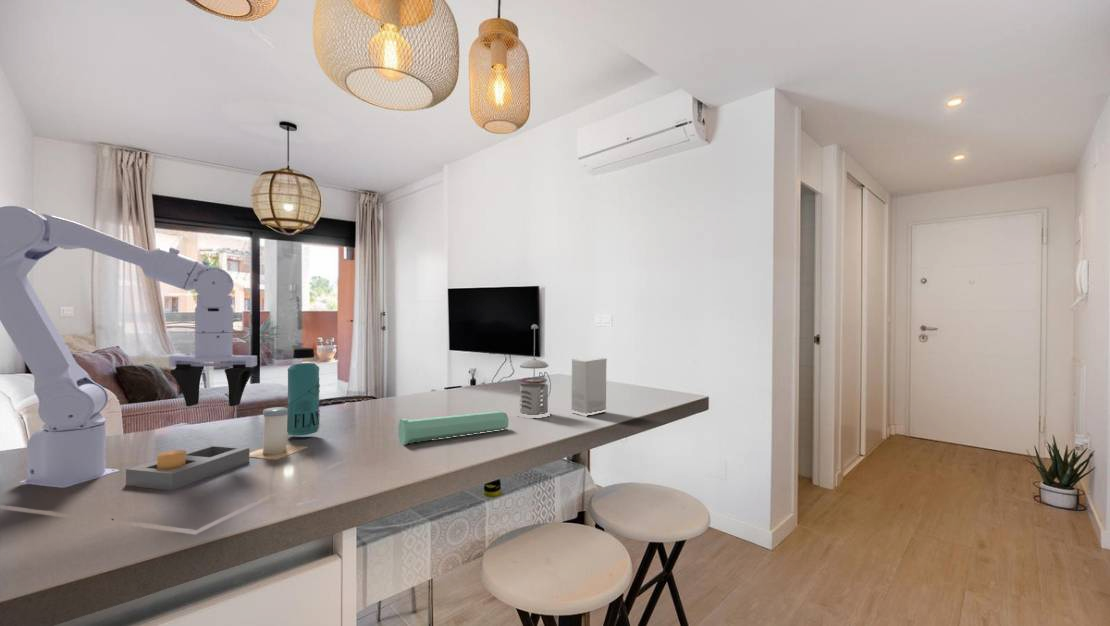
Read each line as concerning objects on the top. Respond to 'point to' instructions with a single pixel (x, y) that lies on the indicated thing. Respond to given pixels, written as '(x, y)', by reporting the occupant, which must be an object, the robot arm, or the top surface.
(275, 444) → the cartridge
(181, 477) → the housing
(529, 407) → the french press
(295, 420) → the beverage bottle
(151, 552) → the top surface
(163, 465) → the orange cylinder
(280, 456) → the mat
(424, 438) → the container
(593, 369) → the skincare box
